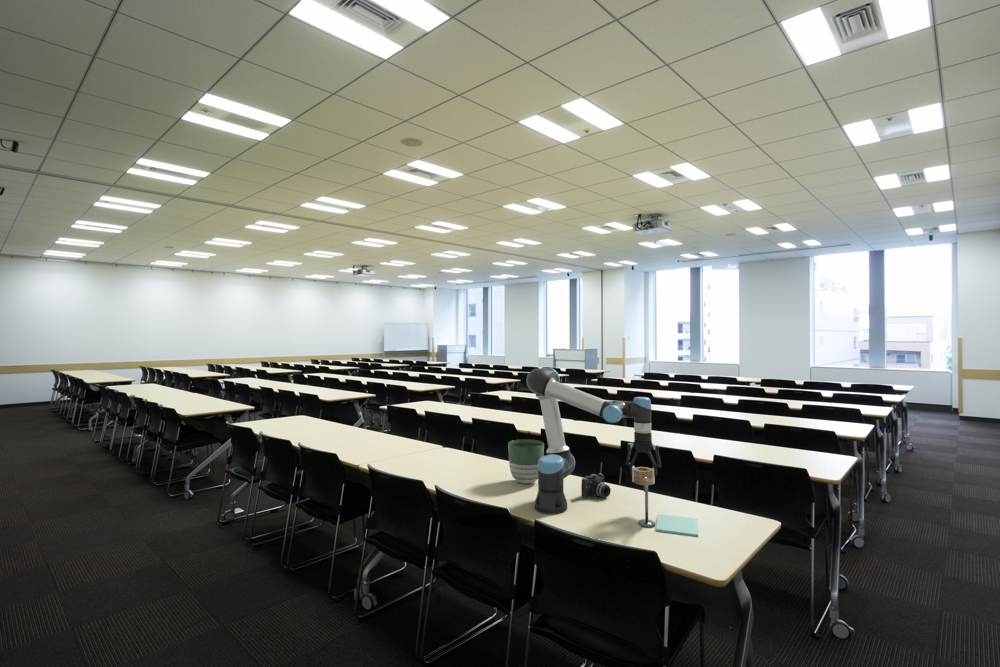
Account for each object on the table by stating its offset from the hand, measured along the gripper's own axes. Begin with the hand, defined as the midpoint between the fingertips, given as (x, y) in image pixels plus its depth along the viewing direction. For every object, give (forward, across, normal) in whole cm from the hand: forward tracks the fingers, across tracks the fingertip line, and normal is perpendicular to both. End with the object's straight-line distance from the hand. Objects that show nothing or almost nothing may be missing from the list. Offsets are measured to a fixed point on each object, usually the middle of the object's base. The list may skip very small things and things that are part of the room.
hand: (643, 482), depth 221 cm
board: (+14, +14, -12) cm, 23 cm away
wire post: (+13, +3, -17) cm, 21 cm away
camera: (+14, -24, +15) cm, 31 cm away
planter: (+13, -64, +24) cm, 69 cm away
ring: (0, 0, 0) cm, 0 cm away
